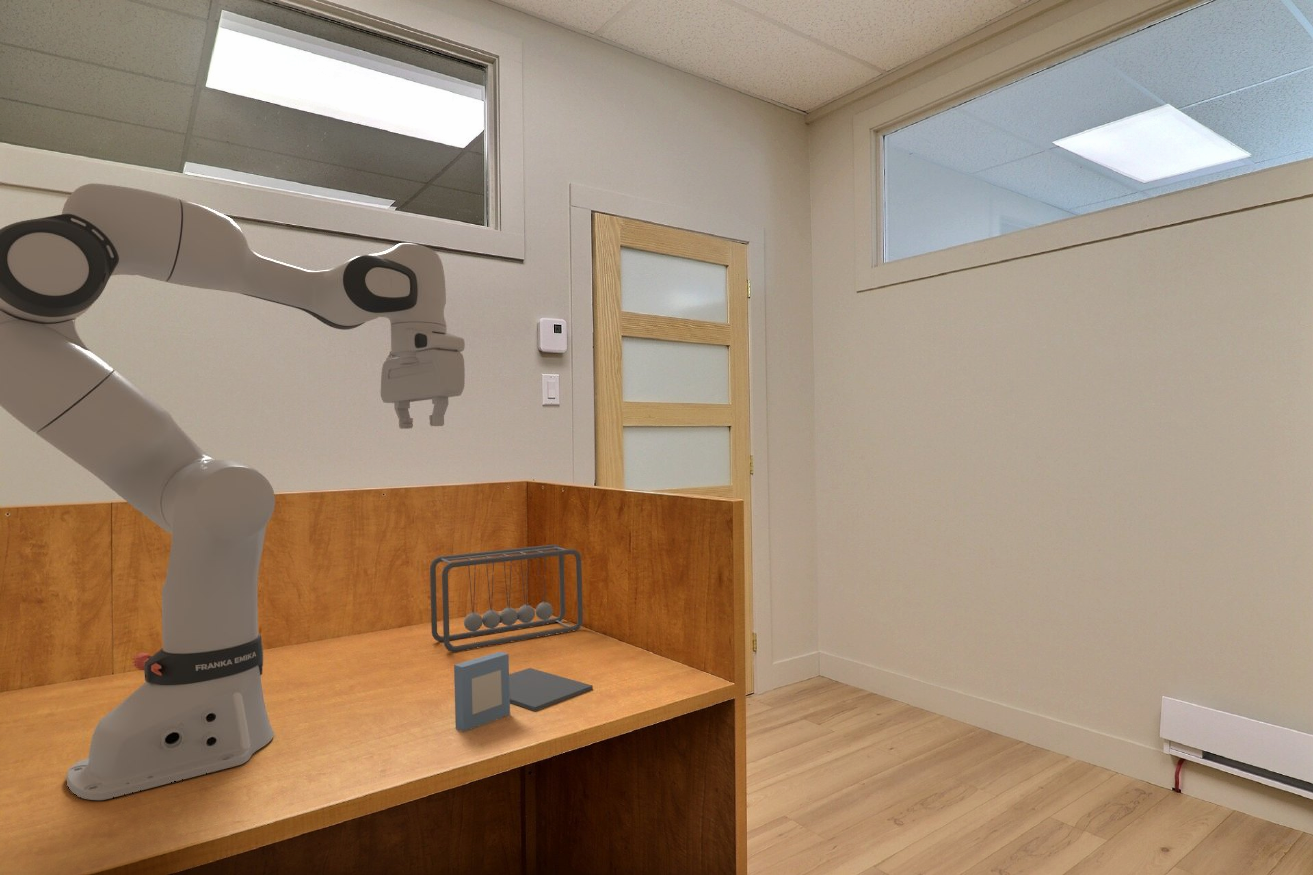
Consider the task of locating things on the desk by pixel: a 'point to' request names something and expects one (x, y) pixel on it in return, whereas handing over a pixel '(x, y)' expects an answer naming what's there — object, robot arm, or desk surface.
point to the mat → (542, 689)
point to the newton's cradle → (508, 614)
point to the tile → (481, 690)
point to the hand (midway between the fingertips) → (421, 427)
